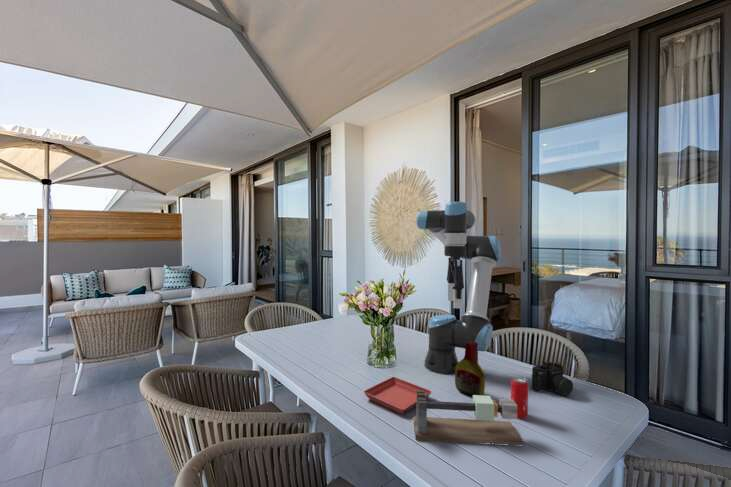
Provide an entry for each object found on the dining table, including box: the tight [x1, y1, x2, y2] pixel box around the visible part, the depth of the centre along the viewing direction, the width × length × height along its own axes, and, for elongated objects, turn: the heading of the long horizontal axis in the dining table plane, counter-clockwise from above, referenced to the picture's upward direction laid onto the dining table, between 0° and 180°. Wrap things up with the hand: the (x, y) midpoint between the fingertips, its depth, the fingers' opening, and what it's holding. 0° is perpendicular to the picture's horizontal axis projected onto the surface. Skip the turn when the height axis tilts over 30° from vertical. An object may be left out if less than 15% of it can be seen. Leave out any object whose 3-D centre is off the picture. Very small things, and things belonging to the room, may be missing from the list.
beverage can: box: [510, 376, 529, 419], centre depth 112 cm, size 5×5×12 cm
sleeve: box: [472, 395, 495, 421], centre depth 101 cm, size 5×5×5 cm
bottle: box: [454, 341, 486, 398], centre depth 127 cm, size 12×6×20 cm, turn 37°
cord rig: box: [413, 390, 524, 446], centre depth 101 cm, size 10×30×10 cm, turn 85°
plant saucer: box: [363, 376, 432, 414], centre depth 122 cm, size 18×18×3 cm
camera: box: [531, 360, 574, 396], centre depth 130 cm, size 14×11×10 cm
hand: (454, 304), depth 122 cm, fingers open, 13 cm apart
